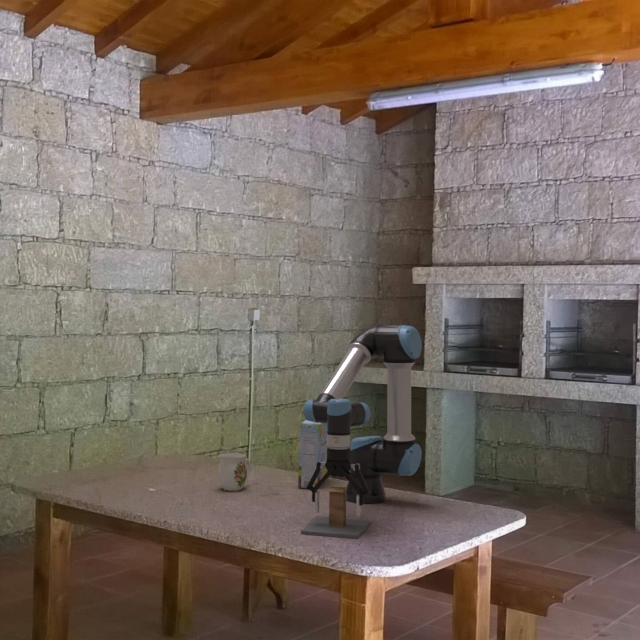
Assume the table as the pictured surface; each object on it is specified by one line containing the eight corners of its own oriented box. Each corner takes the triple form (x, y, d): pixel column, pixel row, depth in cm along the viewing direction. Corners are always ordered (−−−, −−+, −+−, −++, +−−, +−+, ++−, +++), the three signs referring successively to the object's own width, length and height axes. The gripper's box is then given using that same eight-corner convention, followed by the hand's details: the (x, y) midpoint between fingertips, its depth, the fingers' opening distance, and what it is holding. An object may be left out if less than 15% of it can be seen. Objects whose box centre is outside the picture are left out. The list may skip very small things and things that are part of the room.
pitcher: (260, 487, 339) (260, 452, 339) (228, 494, 325) (229, 458, 324) (239, 483, 346) (239, 449, 345) (207, 490, 331) (208, 454, 331)
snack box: (319, 489, 336) (320, 423, 336) (297, 488, 337) (298, 422, 337) (327, 479, 357) (328, 417, 357) (306, 478, 359) (307, 416, 359)
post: (332, 522, 279) (332, 485, 279) (345, 523, 278) (346, 486, 278) (328, 525, 275) (329, 488, 275) (342, 526, 274) (343, 489, 274)
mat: (317, 519, 287) (317, 516, 287) (370, 523, 283) (370, 520, 283) (300, 534, 268) (301, 530, 268) (357, 538, 264) (357, 535, 264)
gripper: (297, 447, 276) (296, 513, 276) (374, 451, 270) (373, 519, 270) (304, 443, 283) (303, 508, 283) (379, 447, 277) (378, 513, 277)
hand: (337, 513), depth 276 cm, fingers open, 13 cm apart
